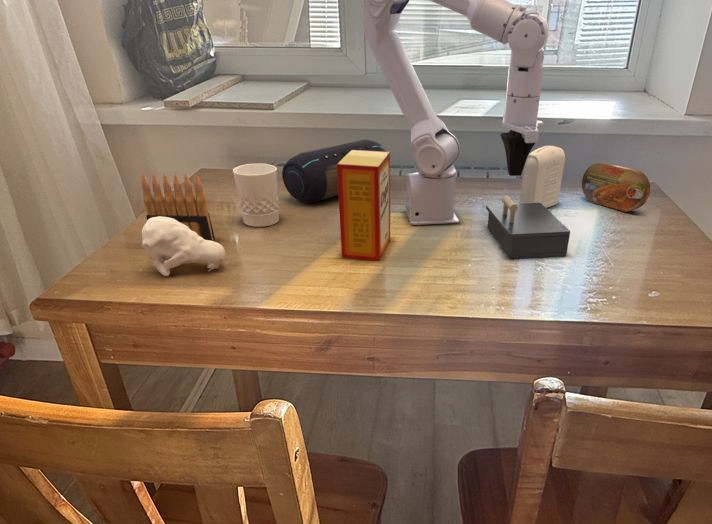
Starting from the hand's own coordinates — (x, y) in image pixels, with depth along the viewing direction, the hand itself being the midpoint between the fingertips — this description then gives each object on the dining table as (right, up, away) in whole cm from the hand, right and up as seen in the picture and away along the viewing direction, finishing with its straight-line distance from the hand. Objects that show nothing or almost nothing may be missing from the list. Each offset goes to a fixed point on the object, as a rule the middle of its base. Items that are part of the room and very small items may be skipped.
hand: (514, 174), depth 106 cm
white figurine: (-55, -19, -13) cm, 59 cm away
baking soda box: (-27, -15, -4) cm, 31 cm away
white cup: (-48, -7, +6) cm, 49 cm away
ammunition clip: (-59, -13, -3) cm, 61 cm away
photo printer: (+8, -2, +16) cm, 18 cm away
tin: (+24, -1, +18) cm, 30 cm away
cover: (+2, -9, -2) cm, 9 cm away
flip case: (+2, -12, 0) cm, 12 cm away
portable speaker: (-35, +2, +22) cm, 41 cm away
